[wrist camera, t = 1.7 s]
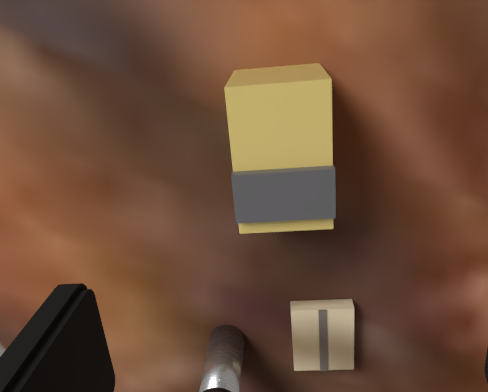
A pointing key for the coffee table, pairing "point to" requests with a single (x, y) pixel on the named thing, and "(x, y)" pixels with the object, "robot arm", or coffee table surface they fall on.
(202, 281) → the coffee table surface
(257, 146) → the yellow and grey block
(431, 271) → the coffee table surface
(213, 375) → the shiny grey cylinder
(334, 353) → the beige striped flat block
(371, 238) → the coffee table surface
